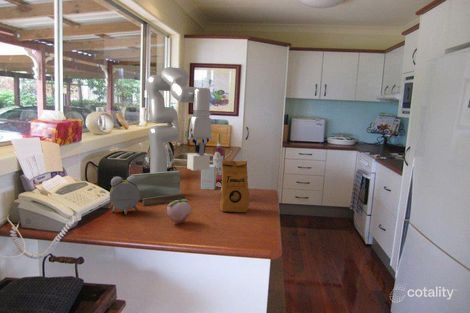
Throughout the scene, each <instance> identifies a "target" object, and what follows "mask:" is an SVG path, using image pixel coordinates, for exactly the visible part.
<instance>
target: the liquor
mask: <svg viewBox="0 0 470 313" xmlns="http://www.w3.org/2000/svg"><path fill="white" fill-rule="evenodd" d="M222 137H223V134H222V133H217V134H216V138H217V142H216V147H214V148H213V149H212V164H213V165H216V183H222V172H223V171H222V169H223V168H222V160H225V159H226V149H225V148H224V147H223V145H222Z"/></svg>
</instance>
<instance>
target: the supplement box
mask: <svg viewBox="0 0 470 313" xmlns="http://www.w3.org/2000/svg"><path fill="white" fill-rule="evenodd" d="M216 183H217V182H216V165H213V163H212V164H211V163H210V166H209V169H206V170H200V190H210V191H211V190H212V191H213V190H215V189H216V187H217V184H216Z"/></svg>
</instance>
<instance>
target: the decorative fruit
mask: <svg viewBox="0 0 470 313" xmlns="http://www.w3.org/2000/svg"><path fill="white" fill-rule="evenodd" d="M179 199H180V198H179ZM190 203H191V201H190V200H188V199H186V198H185V199H181V200H176V201H173V202H169V204H168V205H167V207H166V213H167V216H168V219H169V220H171V221H172V222H173V223H176V224H181V223H183V222H185V221H186V220H188V218H189V217H190V215H191V214H192V206H191V205H190Z"/></svg>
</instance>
